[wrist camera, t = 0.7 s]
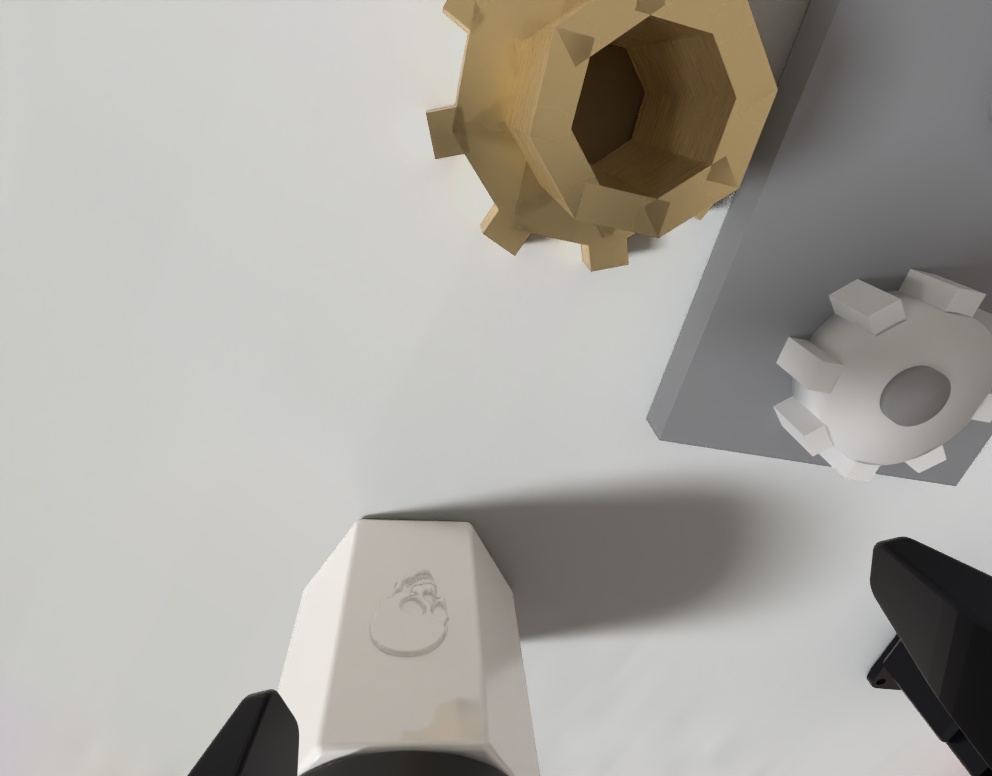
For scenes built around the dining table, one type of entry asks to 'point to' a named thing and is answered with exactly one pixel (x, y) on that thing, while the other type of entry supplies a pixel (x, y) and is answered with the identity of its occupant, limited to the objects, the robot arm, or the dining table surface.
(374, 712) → the jar
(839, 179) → the plate
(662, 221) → the brass gear
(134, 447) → the dining table surface
